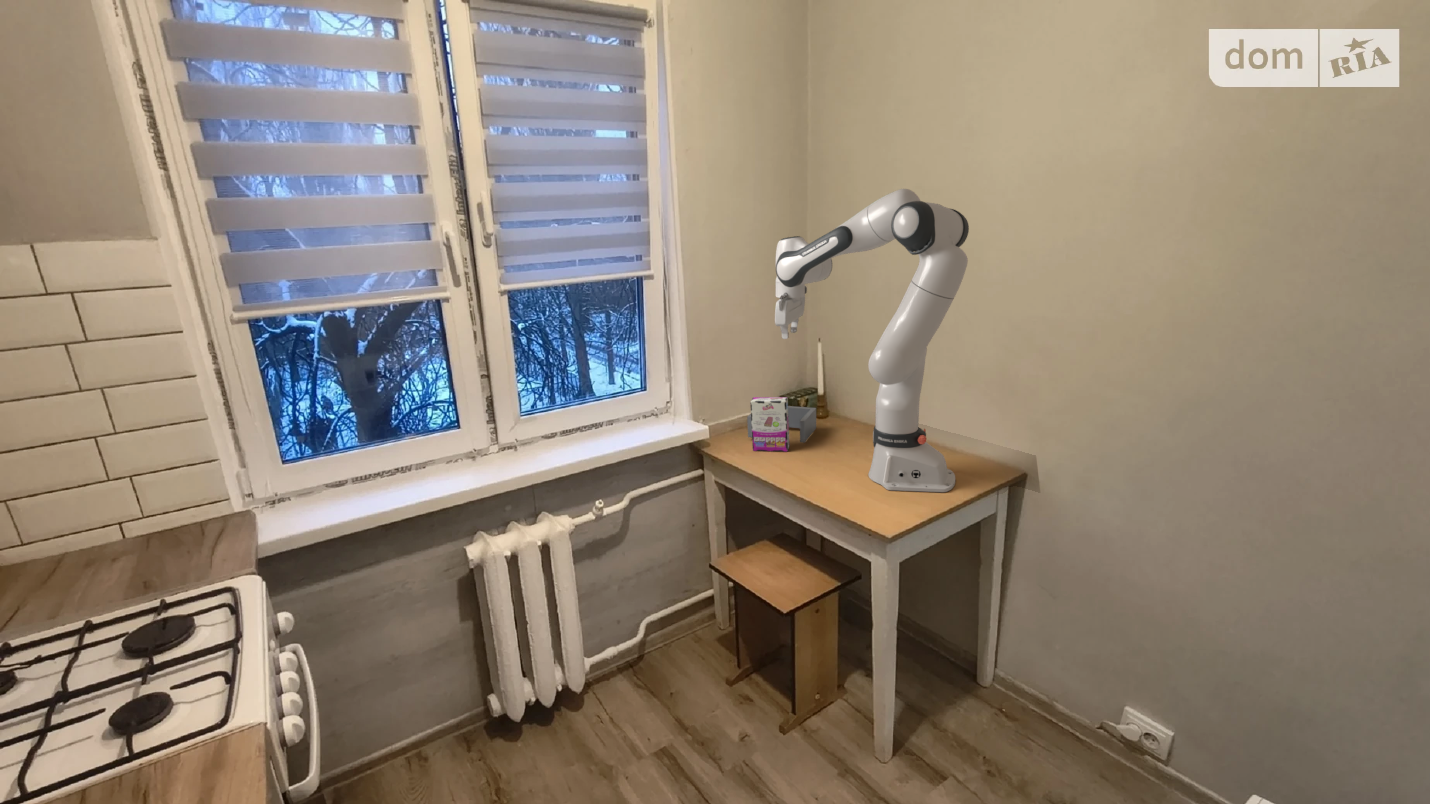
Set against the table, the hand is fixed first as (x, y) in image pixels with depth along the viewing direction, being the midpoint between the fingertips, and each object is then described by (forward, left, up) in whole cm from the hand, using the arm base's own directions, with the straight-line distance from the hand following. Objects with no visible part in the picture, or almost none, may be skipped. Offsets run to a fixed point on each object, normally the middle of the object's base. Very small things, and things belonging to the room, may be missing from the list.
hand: (789, 335), depth 199 cm
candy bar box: (+3, +12, -34) cm, 36 cm away
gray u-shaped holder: (+3, 0, -34) cm, 34 cm away
